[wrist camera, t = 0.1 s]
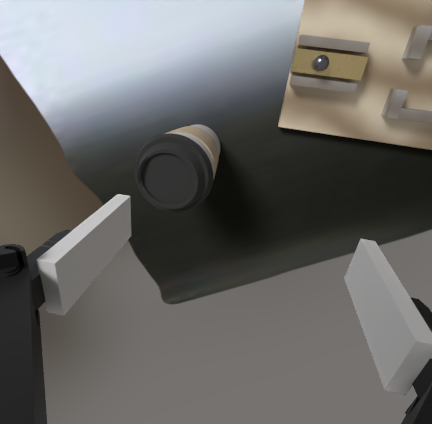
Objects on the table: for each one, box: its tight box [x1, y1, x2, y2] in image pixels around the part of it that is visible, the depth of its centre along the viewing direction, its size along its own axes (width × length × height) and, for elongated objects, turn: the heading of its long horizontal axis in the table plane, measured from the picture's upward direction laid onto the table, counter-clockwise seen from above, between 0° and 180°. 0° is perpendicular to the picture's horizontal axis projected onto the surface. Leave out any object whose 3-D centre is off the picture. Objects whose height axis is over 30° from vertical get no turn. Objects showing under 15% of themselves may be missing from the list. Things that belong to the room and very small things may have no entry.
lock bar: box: [290, 48, 368, 81], centre depth 33 cm, size 2×8×3 cm, turn 83°
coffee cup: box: [135, 125, 220, 213], centre depth 37 cm, size 9×9×15 cm
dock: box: [278, 0, 432, 150], centre depth 34 cm, size 16×24×3 cm, turn 83°
